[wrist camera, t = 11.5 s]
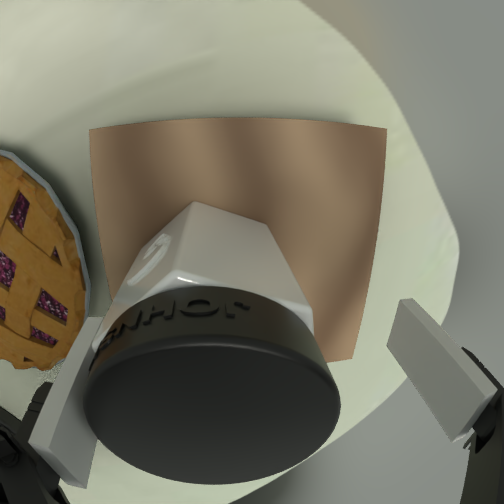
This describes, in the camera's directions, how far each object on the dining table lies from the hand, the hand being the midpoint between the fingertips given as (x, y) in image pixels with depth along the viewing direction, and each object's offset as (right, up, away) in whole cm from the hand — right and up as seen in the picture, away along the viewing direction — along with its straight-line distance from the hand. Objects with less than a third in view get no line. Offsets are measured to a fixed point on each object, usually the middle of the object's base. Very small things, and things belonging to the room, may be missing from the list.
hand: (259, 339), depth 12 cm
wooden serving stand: (-1, +5, +11) cm, 12 cm away
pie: (-24, +3, +9) cm, 26 cm away
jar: (-3, +3, +7) cm, 8 cm away
